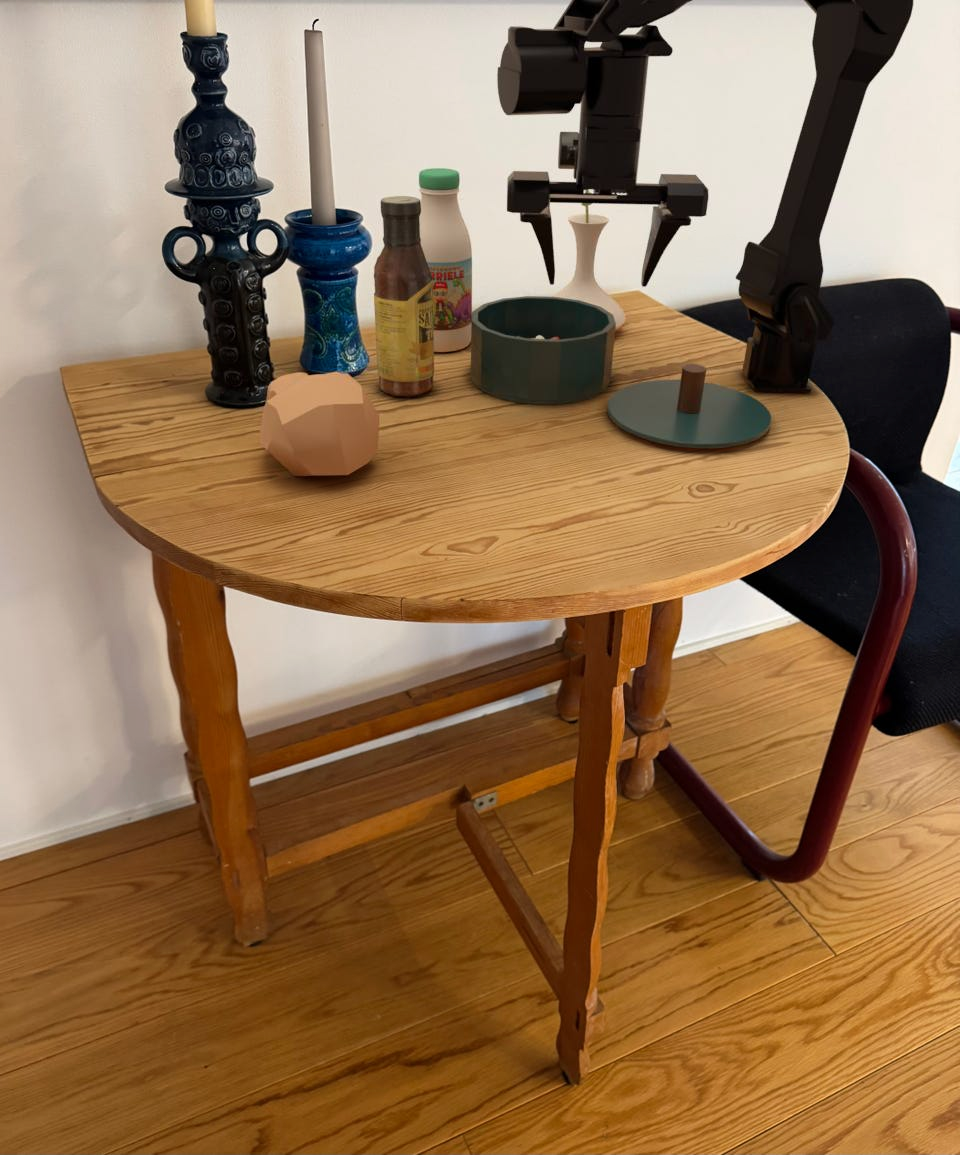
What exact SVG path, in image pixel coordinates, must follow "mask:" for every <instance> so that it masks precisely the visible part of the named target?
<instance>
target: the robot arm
mask: <svg viewBox="0 0 960 1155" xmlns="http://www.w3.org/2000/svg"><path fill="white" fill-rule="evenodd" d="M803 1H804V2H805V3H806V4H807V6H808V7H809V8H810V9H811V10H812V11H813V13H814V14H815V22H814V28H813V35H812V41H811V43H812V44H811V46H812V52H813V59H814V60H813V61H814V67H815V79H814V85H813V89H812V91H811V95H810V97H809V98H810V99H809V102H808V104H807V109H806V111H805V115H804V118H803V122H802V124H801V125H802V126H801V130H800V132H799V135H798V139H797V143H796V147H795V149H794V152H793V156H792V160H791V163H790V167H789V170H788V174H787V177H786V181H785V183H784V188H783V190H782V193H781V198H780V201H779V204H778V208H777V211H776V213H775V214H776V215H775V218H774V222H773V224H772V227H771V229H770V230H769V231H768V233H767V234H766V235H765V236H764V237H763V238H762V239H761V241H760V242H759V243H757V242H753V241H748V242H747V244H746V246H745V248H744V253H743V260H742V264H741V267H740V268H739V271H738V273H737V274H736V275H735V280H737V281H739V284H738V296H739V297H740V299H741V300H742V303H743V305H744V306H745V307H746V314H747V319H748V320H749V321H751V322H754V323H755V324H754V329H753V335H752V337H748V338H747V341H746V348H745V353H744V359H743V364H742V371H741V372H742V374H743V376H744V377H745V379H746V380H747V382H748V383H749V386H750V387H751V388H752V390H753V391H755V392H775V393H776V392H779V393H781V392H782V393H811V392H812V391H813V386H812V385H811V384H810V382H809V379H810V374H811V369H812V364H813V359H814V355H815V350H816V345H817V341H822V340H827V339H828V337H829V335H830V333H831V331H832V329H833V327H834V325H835V323H836V320H835V319H834V317H833V315H832V314H831V312H830V311H829V310H828V309H827V307H826V306H825V304H824V303H823V302H822V300H821V299H820V291H821V285H822V281H823V275H824V262H823V255H822V250H821V249H822V248H821V242H820V241H821V235H822V232H823V228H824V225H825V222H826V219H827V217H828V216H827V215H828V212H829V209H830V206H831V203H832V200H833V197H834V194H835V190H836V187H837V184H838V181H839V177H840V175H841V173H842V172H841V171H842V168H843V166H844V162H845V159H846V155H847V153H848V150H849V146H850V143H851V140H852V137H853V134H854V131H855V127H856V125H857V121H858V118H859V116H860V111H861V108H862V105H863V103H864V99H865V97H866V96H865V95H866V94H867V90H868V88H869V86H870V84H871V82H872V81H873V80H874V79H875V78H876V76H877V75H878V74H879V73H880V72H881V70H882V69H883V68H884V67H885V66H886V65H887V63H889V61H890V60H891V59H892V58H893V56H894V55H895V53H896V52H897V51H896V50H897V48H898V46H899V44H900V42H901V40H902V37H903V34H904V33H905V31H906V29H907V26H908V24H909V22H910V20H911V17H912V13H913V9H914V0H803ZM691 2H693V0H571V1H570V3H569V4H568V5H567V7H566V9H565V10H564V11H563V13H562V14H561V16H560V18H559V19H558V21H557V22H556V24H555V25H554V27H553V28H534V27H533V28H532V27H528V26H521V25H520V26H509V27H508V29H507V43H506V44H505V46H504V48H503V50H502V53H501V58H500V65H499V66H498V67H497V73H496V74H497V75H496V76H497V78H496V79H497V80H496V82H497V94H498V99H499V104H500V108H501V109H502V111H503V113H504V114H505V115H506V116H536V115H567V114H570V113H571V112H572V111H573V109H574V107H575V106H576V105H580V113H579V128H578V129H579V130H578V131H560V132H559V138H558V139H559V140H558V153H557V154H558V157H557V160H558V161H557V168H558V169H559V170H573V175H572V176H573V179H574V180H575V181H551V180H550V176H549V171H535V170H533V171H531V170H530V171H529V170H513V171H512V172H511V173H510V174H509V175H508V177H507V179H506V180H507V182H506V212H508V213H512V214H519V222H522V223H528V224H530V225H531V227H532V230H533V232H534V235H535V237H536V239H537V242H538V244H539V247H540V251H541V254H542V258H543V262H544V265H545V270H546V274H547V277H548V282H549V285H551V286H552V285H553V286H554V285H555V277H556V265H555V252H554V237H553V235H554V234H553V222H552V221H553V220H552V214H551V207H550V206H551V203H556V204H557V203H558V204H582V203H592V204H604V205H608V204H609V205H649V206H650V205H652V215H651V224H650V230H649V235H648V239H647V245H646V249H645V254H644V259H643V262H642V263H643V264H642V270H641V279H640V280H641V281H640V284H641V287H643V288H644V287H645V288H646V287H647V286H648V284H649V282H650V280H651V278H652V276H653V273H654V272H655V270H656V268H657V266H658V264H659V262H660V260H661V258H662V256H663V254H664V253H665V250H666V249H667V247H668V246H669V244H670V243H671V242H672V240H673V238H674V237H675V235H676V234H677V233H678V231H679V229H680V228H681V227H688V226H691V223H692V218H691V217H695V218H697V217H699V218H701V217H705V216H707V211H708V204H709V188H708V187H707V186H706V185H705V184H704V182H703V181H702V180H701V179H700V178H699V177H698V176H697V174H683V173H681V174H679V173H678V174H677V173H675V174H674V173H669V174H668V173H661V174H660V176H659V179H658V183H643V182H642V183H639V182H637V181H638V173H639V172H638V170H639V160H640V152H641V151H640V150H641V142H642V141H641V140H642V131H643V120H644V108H645V99H646V98H645V97H646V89H647V88H646V87H647V79H648V68H649V57H670V56H672V54H673V52H674V50H673V47H672V46H671V45H670V44H669V42H667V40H666V39H665V38H664V37H663V36H662V34H661V32H660V30H659V27H658V25H653V24H652V23H654V22H657V21H658V20H661V19H663V18H665V17H667V16H669V15H671V14H673V13H676V12H677V11H678V10H679V9H681V8H682V7H683V6H685V5H687V4H688V3H691ZM639 28H640V29H639ZM627 29H639V30H638V31H637V32H636V33H633V34H631V33H630V34H627V33H626V34H622V33H623V32H625V31H626V30H627ZM586 42H587V43H601V44H600V46H593V47H585V44H586ZM587 189H588V190H592V192H593V193H592V192H589V193H585V190H587ZM596 193H597V194H596ZM653 205H654V206H653Z"/></svg>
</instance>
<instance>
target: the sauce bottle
mask: <svg viewBox="0 0 960 1155" xmlns="http://www.w3.org/2000/svg"><path fill="white" fill-rule="evenodd" d="M380 213H381V217H382V224H383V225H382V227H383V229H382V230H383V237H382V242H383V247H382V250H381V252H380V254H379V255H378V256H377V258H376V261H375V264H374V266H373V279H374V293H373V304H374V325H375V326H374V327H375V348H376V349H375V350H376V352H375V353H376V369H377V371H376V372H377V375H378V385H379V389H380V390H381V391H382V392H384V393H385V394H388V395H391V396H394V397H415V396H418V395H424V393H425V394H426V393H428V392H429V391H430V390H431V389H432V388H433V386H434V375H435V352H434V326H433V321H434V319H433V278H432V275H431V272H430V270H429V267H428V264H427V261H426V258H425V255H424V252H423V249H422V247H421V243H420V242H421V239H420V223H419V216H420V214H421V199H420V198H418V197H416V196H415V197H414V196H410V195H409V196H408V195H395V196H387V197H383V198H381V199H380Z"/></svg>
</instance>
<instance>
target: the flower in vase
mask: <svg viewBox="0 0 960 1155" xmlns="http://www.w3.org/2000/svg"><path fill="white" fill-rule="evenodd" d="M584 193H590V189H587V190H584ZM596 194H597V193H596ZM592 204H593V203H580V205H581V206H584V207H585V213H584V214H583V213H582V214H573V215H570V216H568V217H567V221H568V222H569V224H570V225H571V228H572V231H573V233H574V237H575V238H574V239H575V245H576V246H575V247H576V248H575V249H576V257H575V258H576V260H575V261H576V262H575V270H574V273H573V274H574V275H573V276H572V279H571V280H570V281H569V282H568V284H567V285H565V286H564V287H563V288H561V289H559V291H557V292H556V293H554V294H553V295H552V296H551V297H560V298H567V299H574V300H580V301H583V302H587V303H590V304H593V305H597V306H600V307H602V308H603V309H605V310H606V311H608V312H610V313H611V314H613V316H614V319H615V322H616V328H615V332H616V331H618V330H620V329H621V327H622V326H623V325H624V324H625V323H626V320H627V319H626V315H625V312H624V310H623V309H622V307H621V306H620V305H619V303H618V302H616V300H614V298H613V297H611V296H610V295H609V294H608V293H607V292H606V291H605V290H604V289H603V288H602V287H601V286H600V285H599V284H598V282H597V281H596V278H595V268H594V267H595V257H596V251H597V247H598V242H599V238H600V236H601V234H602V231H603V230H604V228H605V227H606V225H607V224H608V223H609V222H610V219H609V218H608V217H606V216H603V215H599V214H589V206H590V205H592Z"/></svg>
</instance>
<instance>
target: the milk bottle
mask: <svg viewBox="0 0 960 1155" xmlns="http://www.w3.org/2000/svg"><path fill="white" fill-rule="evenodd" d="M460 179H461V178H460V172H459V171H458V170H455V169H452V168H446V167H445V168H443V167H442V168H441V167H433V168H425V169H421V170H420V171H419V174H418V185H419V190H418V192H419V193H420V195H421V196H420V197H421V199H420V202H421V214H420V216H419V223H420V239H421V242H420V243H421V247H422V249H423V252H424V255H425V258H426V261H427V264H428V267H429V270H430V272H431V275H432V278H433V319H434V321H433V326H434V353H446V352H447V353H450V352H456V351H459V350H462V349H465V348H467V347H468V346H469V345H470V344H471V320H472V312H473V252H472V251H473V250H472V243H471V242H472V241H471V238H470V234H469V230H468V227H467V225H466V222H465V220H464V218H463V215H462V213H461V212H462V211H461V209H460V205H459V201H458V200H459V199H458V193H459V192H460Z"/></svg>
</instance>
